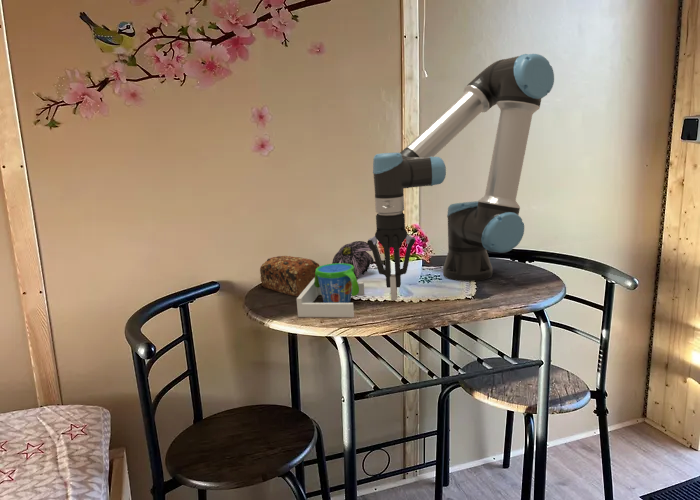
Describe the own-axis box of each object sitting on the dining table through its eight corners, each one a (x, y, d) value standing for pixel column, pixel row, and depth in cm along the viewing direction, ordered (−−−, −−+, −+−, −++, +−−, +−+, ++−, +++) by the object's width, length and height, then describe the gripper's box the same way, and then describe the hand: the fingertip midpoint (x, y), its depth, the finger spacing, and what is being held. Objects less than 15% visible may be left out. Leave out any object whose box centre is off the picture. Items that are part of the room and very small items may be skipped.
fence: (364, 293, 158) (363, 277, 157) (353, 317, 139) (352, 298, 138) (315, 294, 161) (314, 277, 160) (298, 317, 142) (296, 298, 141)
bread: (323, 290, 165) (321, 258, 163) (295, 299, 158) (292, 265, 156) (287, 280, 178) (284, 250, 176) (259, 287, 172) (256, 256, 169)
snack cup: (305, 301, 154) (302, 266, 152) (335, 293, 161) (333, 259, 159) (339, 314, 142) (336, 276, 140) (369, 304, 149) (368, 268, 147)
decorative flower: (317, 247, 178) (354, 228, 184) (323, 275, 185) (358, 255, 191) (343, 266, 168) (381, 245, 174) (348, 295, 174) (385, 273, 181)
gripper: (363, 216, 141) (368, 303, 146) (414, 214, 138) (417, 303, 144) (367, 211, 148) (372, 294, 153) (415, 209, 145) (419, 294, 151)
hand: (394, 298), depth 148 cm, fingers closed
